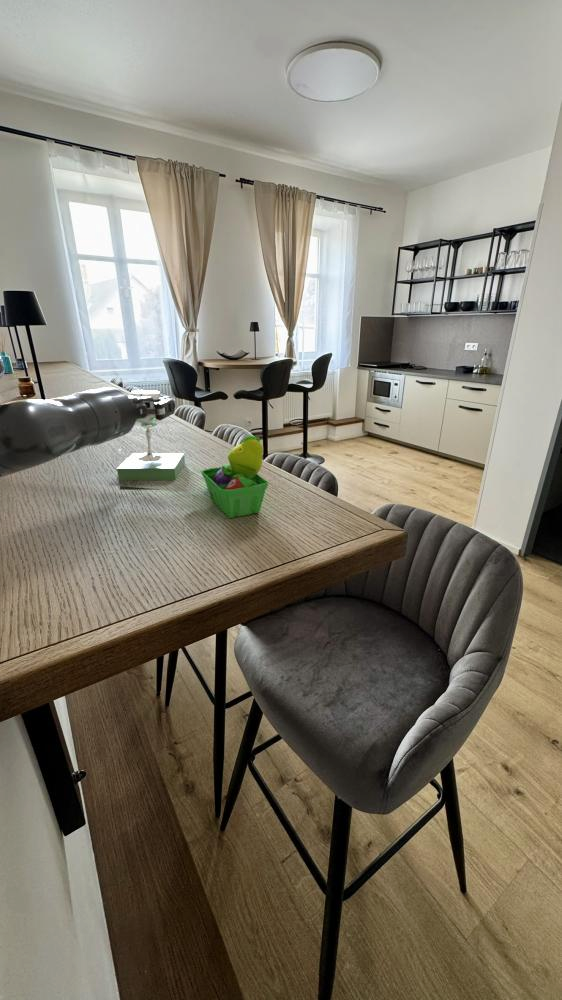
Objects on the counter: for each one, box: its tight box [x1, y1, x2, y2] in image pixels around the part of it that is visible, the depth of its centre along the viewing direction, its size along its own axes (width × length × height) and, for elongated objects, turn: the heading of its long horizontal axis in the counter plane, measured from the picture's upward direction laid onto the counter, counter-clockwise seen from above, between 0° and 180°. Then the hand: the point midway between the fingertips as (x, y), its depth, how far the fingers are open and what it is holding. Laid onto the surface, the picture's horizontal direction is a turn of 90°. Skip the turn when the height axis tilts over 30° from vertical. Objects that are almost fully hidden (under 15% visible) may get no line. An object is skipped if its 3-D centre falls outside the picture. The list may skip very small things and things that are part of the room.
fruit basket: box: [200, 435, 269, 519], centre depth 65 cm, size 11×9×11 cm
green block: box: [116, 452, 186, 491], centre depth 77 cm, size 10×10×4 cm
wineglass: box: [130, 389, 164, 462], centre depth 74 cm, size 6×6×12 cm
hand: (153, 401), depth 75 cm, fingers closed on wineglass, 5 cm apart
